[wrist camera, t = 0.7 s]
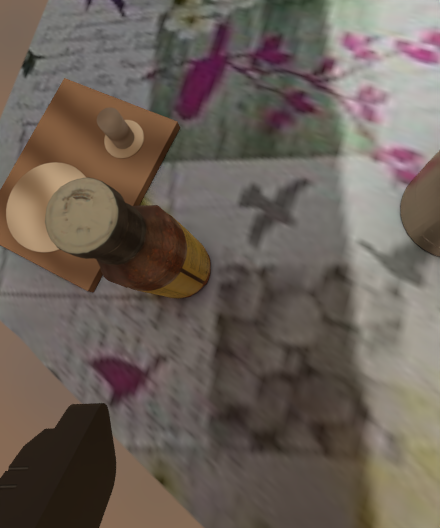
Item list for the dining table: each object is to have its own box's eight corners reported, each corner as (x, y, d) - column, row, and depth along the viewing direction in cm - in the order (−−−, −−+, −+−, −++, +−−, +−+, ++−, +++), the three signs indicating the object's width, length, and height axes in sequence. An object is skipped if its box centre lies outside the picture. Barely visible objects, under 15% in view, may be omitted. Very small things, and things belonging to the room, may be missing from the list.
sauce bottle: (176, 228, 39) (77, 123, 19) (225, 260, 37) (171, 182, 18) (139, 280, 38) (0, 226, 19) (188, 315, 37) (91, 294, 17)
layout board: (70, 85, 44) (43, 52, 39) (180, 127, 41) (166, 98, 36) (-16, 235, 42) (-56, 221, 37) (93, 292, 39) (66, 286, 34)
